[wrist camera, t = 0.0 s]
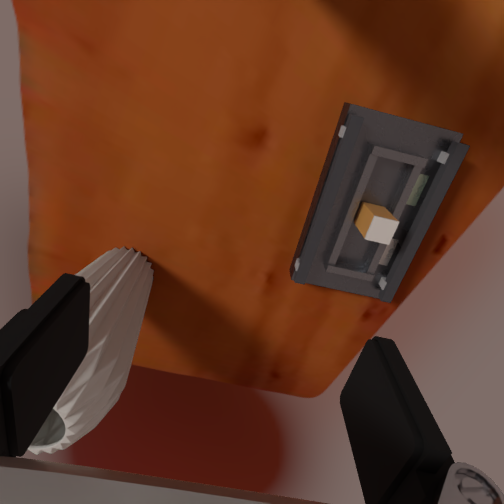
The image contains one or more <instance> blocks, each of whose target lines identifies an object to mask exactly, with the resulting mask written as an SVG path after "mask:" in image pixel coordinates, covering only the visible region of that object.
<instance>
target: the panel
mask: <svg viewBox="0 0 504 504" xmlns="http://www.w3.org/2000/svg"><path fill="white" fill-rule="evenodd" d="M349 114H352V115H356V116H360V117H363V118H364V121H363V124H362V126H361V129H360V132H359V135H358V137H357V140H356V143H355V146H354V149H353V151H352V154H351V157H350V160H349V162H348V165H347V168H346V171H345V174H344V176H343V179H342V182H341V185H340V187H339V190H338V193H337V196H336V198H335V201H334V204H333V207H332V210H331V212H330V215H329V218H328V221H327V223H326V226H325V229H324V232H323V235H322V237H321V240H320V243H319V246H318V248H317V251H316V254H315V257H314V259H313V262H312V265H311V268H310V271H309V273H308V276H307V279H306V282H305V283H309V284H313V285H318V286H323V287H327V288H332V289H337V290H341V291H346V292H351V293H355V294H360V295H365V296H369V297H374V298H379V296H378V294H379V292H380V290H381V287H380V285H379V281H380V279H381V277H386V278H387V275H388V273H389V271H390V269H391V267H392V265H393V263H394V261H395V259H396V257H397V255H398V253H399V251H400V248H401V246H402V244H403V242H404V240H405V238H406V236H407V234H408V232H409V230H410V228H411V226H412V224H413V221H414V219H415V217H416V215H417V213H418V211H419V209H420V207H421V205H422V203H423V201H424V199H425V197H426V195H427V192H428V190H429V188H430V186H431V184H432V182H433V180H434V178H435V176H436V174H437V172H438V170H439V168H440V165H441V163H440V162H438V161H437V159H438V157H439V155H440V153H441V151H443V152H447V151H448V149H449V147H450V145H451V143H452V141H455V142H460V140H461V138H462V136H463V134H462V133H458V132H455V131H451V130H447V129H443V128H440V127H436V126H432V125H428V124H424V123H421V122H417V121H413V120H409V119H406V118H402V117H398V116H394V115H391V114H387V113H383V112H379V111H376V110H372V109H368V108H364V107H361V106H357V105H353V104H349V103H346V102H345V103H344V106H343V109H342V112H341V115H340V118H339V121H338V124H337V127H336V130H335V133H334V136H333V139H332V142H331V145H330V148H329V151H328V154H327V157H326V160H325V163H324V166H323V169H322V172H321V175H320V178H319V181H318V185H317V188H316V191H315V194H314V197H313V200H312V203H311V206H310V209H309V212H308V215H307V218H306V221H305V224H304V227H303V230H302V233H301V236H300V239H299V242H298V245H297V248H296V251H295V254H294V257H293V260H292V263H291V266H290V269H289V270H290V276H291V280H294V275H295V272H296V270H295V263H296V260H297V258H299V259H300V257H301V254H302V251H303V248H304V245H305V243H306V240H307V237H308V234H309V231H310V228H311V225H312V222H313V219H314V216H315V213H316V210H317V207H318V204H319V201H320V198H321V196H322V193H323V190H324V187H325V184H326V181H327V178H328V175H329V172H330V169H331V166H332V163H333V160H334V157H335V154H336V151H337V148H338V146H339V143H340V140H341V137H339V136H338V134H339V131H340V128H341V125H343V126H345V125H346V122H347V119H348V116H349ZM362 202H366V203H371V204H375V205H379V206H383V207H385V208H386V209H387V210H388V211H389V212H390V213H391V214H392V215H393V216H394V217H395V218H396V219H397V220H398V221H399V224H398V226H397V229H396V231H395V233H394V235H393V237H392V239H391V242H390V244H389V245H387V244H383V243H378V242H374V241H370V240H365V239H364V237H363V236H362V234H361V233H360V231H359V230H358V228H357V227H356V225H355V224H354V221H355V219H356V216H357V214H358V211H359V209H360V206H361V204H362ZM379 299H380V298H379Z"/></svg>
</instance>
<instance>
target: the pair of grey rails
mask: <svg viewBox="0 0 504 504" xmlns="http://www.w3.org/2000/svg"><path fill="white" fill-rule="evenodd" d="M363 121H364V118H363V117H360V116H356V115H352V114H349V116H348V119H347V122H346V125H345V126H343V125H341V128H340V131H339V134H338V136H339V137H341V140H340V143H339V146H338V148H337V151H336V154H335V157H334V160H333V163H332V166H331V169H330V172H329V175H328V178H327V181H326V184H325V187H324V190H323V193H322V196H321V198H320V201H319V204H318V207H317V210H316V213H315V216H314V219H313V222H312V225H311V228H310V231H309V234H308V237H307V240H306V243H305V245H304V248H303V251H302V254H301V257H300V259H299V258H297V260H296V263H295V270H296V272H295V275H294V281H295V283H300V284H305V282H306V279H307V276H308V273H309V271H310V268H311V265H312V262H313V259H314V257H315V254H316V251H317V248H318V246H319V243H320V240H321V237H322V235H323V232H324V229H325V226H326V223H327V221H328V218H329V215H330V212H331V210H332V207H333V204H334V201H335V198H336V196H337V193H338V190H339V187H340V185H341V182H342V179H343V176H344V174H345V171H346V168H347V165H348V162H349V160H350V157H351V154H352V151H353V149H354V146H355V143H356V140H357V137H358V135H359V132H360V129H361V126H362V124H363ZM469 147H470V146H469V145H466V144H462V143H459V142H455V141H452V143H451V145H450V147H449V149H448V151H447V152H443V151H441V153H440V155H439V157H438V159H437V161H438V162H440V163H441V165H440V168H439V170H438V172H437V174H436V176H435V178H434V180H433V182H432V184H431V186H430V188H429V190H428V192H427V195H426V197H425V199H424V201H423V203H422V205H421V207H420V209H419V211H418V213H417V215H416V217H415V219H414V221H413V224H412V226H411V228H410V230H409V232H408V234H407V236H406V238H405V240H404V242H403V244H402V246H401V248H400V251H399V253H398V255H397V257H396V259H395V261H394V263H393V265H392V267H391V269H390V271H389V273H388V275H387V278H386V277H381V279H380V281H379V285H380V287H381V290H380V292H379V294H378V296H379V298H380V300H381V301H384V302H389V303H391V301H392V299H393V297H394V295H395V293H396V291H397V289H398V287H399V285H400V283H401V281H402V279H403V277H404V275H405V273H406V271H407V269H408V267H409V265H410V263H411V261H412V259H413V257H414V255H415V253H416V251H417V249H418V247H419V246H420V244H421V242H422V240H423V238H424V236H425V234H426V232H427V230H428V228H429V226H430V224H431V222H432V220H433V218H434V216H435V214H436V212H437V210H438V208H439V206H440V204H441V202H442V200H443V198H444V196H445V194H446V192H447V190H448V188H449V186H450V184H451V182H452V181H453V179H454V177H455V175H456V173H457V171H458V169H459V167H460V165H461V163H462V161H463V159H464V157H465V155H466V153H467V151H468V149H469Z"/></svg>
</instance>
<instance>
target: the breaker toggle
mask: <svg viewBox="0 0 504 504" xmlns="http://www.w3.org/2000/svg"><path fill="white" fill-rule="evenodd" d="M354 224H355V225H356V227H357V228H358V230H359V231H360V233H361V234H362V236H363V237H364V239H365V240H370V241H374V242H378V243H383V244H387V245H389V244H390V242H391V239H392V237H393V235H394V233H395V231H396V229H397V226H398V224H399V221H398V220H397V219H396V218H395V217H394V216H393V215H392V214H391V213H390V212H389V211H388V210H387V209H386V208H385V207H383V206H379V205H375V204H371V203H366V202H362V204H361V206H360V209H359V211H358V214H357V216H356V219H355V221H354Z"/></svg>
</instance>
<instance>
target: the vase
mask: <svg viewBox="0 0 504 504" xmlns="http://www.w3.org/2000/svg"><path fill="white" fill-rule="evenodd" d="M146 260H147V257H144V256H141V251H139V252H135V251H134V249H133V248H131V249H130V250H127V249H126V248H125V247H122V248H121V249H118V248H116V247H115V248H114V249H113V250H111V251H107V252H106V253H105V254H103V255H102V256H100V257H99V258H98V259H96V260H95V261H93V262H92V263H91V264H89V265H88V266H87V267H85V268H84V269H82V270H81V271H80V272H78V273H77V274H76V275H77V276H82V277H84V278H85V282H88V283H90V313H89V346H88V351H87V354H86V356H85V358H84V360H83V361H82V363H81V364H80V366H79V368H78V369H77V371H76V372H75V374H74V376H73V377H72V379H71V380H70V382H69V384H68V385H67V387H66V388H65V390H64V392H63V393H62V395H61V396H60V398H59V400H58V401H57V403H56V404H55V406H54V408H53V409H52V411H51V412H50V414H49V416H48V417H47V419H46V421H45V422H44V424H43V425H42V427H41V429H40V430H39V432H38V433H37V435H36V437H35V438H34V440H33V441H32V443H31V445H30V446H29V448H28V449H27V450H30V451H31V452H33V453H34V454H36V455H38V454H40V453H42V452H43V451H45V452H47V453H50V454H52V453H54V452H56V451H57V450H59V449H61V450H64V449H66V448H67V447H69V446H70V445H71V444H73V443H74V442H75V441H77V440H78V439H80V438H81V437H83V436H84V435H85V434H87V433H88V432H90V431H91V430H92V429H94V428H95V427H96V426H97V425H98V423H99V422H100V421H101V420H102V418H103V417H104V416H105V415H106V414H107V413H108V411H109V410H110V409H111V408H112V407H113V406H114V404H115V403H116V402H117V401H118V400H119V397H120V393H121V392H122V390H123V389H124V388H125V385H126V382H127V378H128V374H129V370H130V367H131V363H132V359H133V355H134V352H135V348H136V344H137V340H138V336H139V332H140V329H141V325H142V321H143V317H144V313H145V310H146V306H147V302H148V298H149V294H150V290H151V287H152V282H153V278H154V277H153V273H154V270H153V269H151V268H150V267H151V264H152V263H149V262H146Z"/></svg>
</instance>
